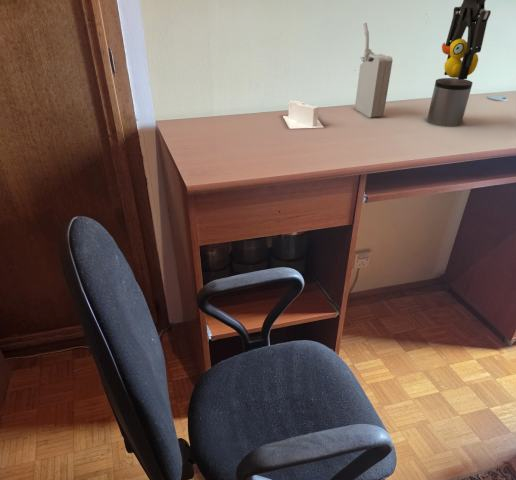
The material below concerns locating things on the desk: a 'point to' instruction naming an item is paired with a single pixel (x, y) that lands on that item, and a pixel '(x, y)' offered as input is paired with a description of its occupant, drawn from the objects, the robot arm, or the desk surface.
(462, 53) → the duckling
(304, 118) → the napkin holder
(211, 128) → the desk surface
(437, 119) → the jar
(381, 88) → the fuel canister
